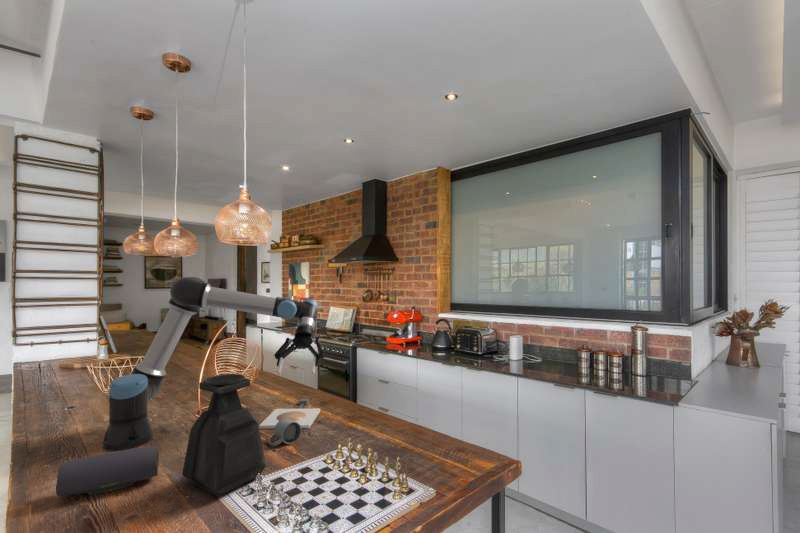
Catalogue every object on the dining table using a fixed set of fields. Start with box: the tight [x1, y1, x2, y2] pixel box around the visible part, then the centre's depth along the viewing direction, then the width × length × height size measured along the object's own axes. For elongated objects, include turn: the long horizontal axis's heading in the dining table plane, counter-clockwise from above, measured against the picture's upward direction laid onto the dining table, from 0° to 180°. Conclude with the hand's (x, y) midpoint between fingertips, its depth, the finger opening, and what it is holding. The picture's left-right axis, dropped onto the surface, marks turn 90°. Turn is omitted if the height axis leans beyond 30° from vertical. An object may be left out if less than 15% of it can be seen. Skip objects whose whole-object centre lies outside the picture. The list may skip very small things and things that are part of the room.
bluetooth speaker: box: [55, 445, 160, 497], centre depth 112 cm, size 23×9×10 cm, turn 118°
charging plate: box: [258, 398, 321, 430], centre depth 171 cm, size 32×20×2 cm, turn 179°
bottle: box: [182, 373, 267, 497], centre depth 116 cm, size 18×16×30 cm
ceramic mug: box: [268, 419, 302, 447], centre depth 143 cm, size 11×8×8 cm
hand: (295, 373), depth 155 cm, fingers open, 13 cm apart
